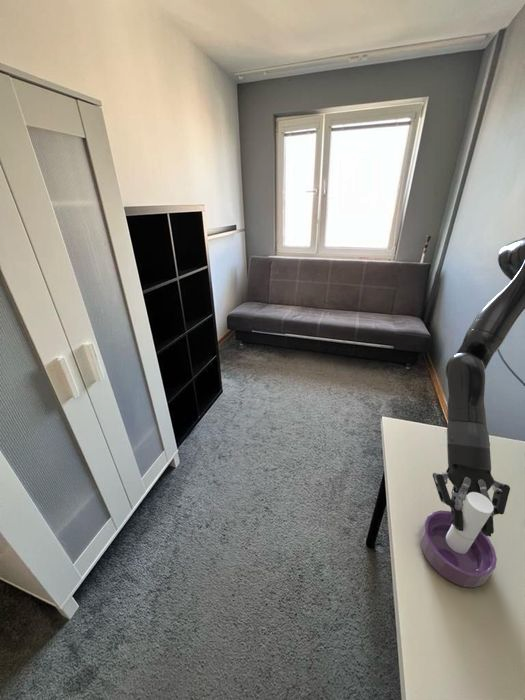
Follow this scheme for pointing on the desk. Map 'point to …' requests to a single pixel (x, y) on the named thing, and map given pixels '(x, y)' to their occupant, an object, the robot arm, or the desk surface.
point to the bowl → (448, 562)
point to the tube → (470, 522)
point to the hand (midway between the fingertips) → (472, 531)
